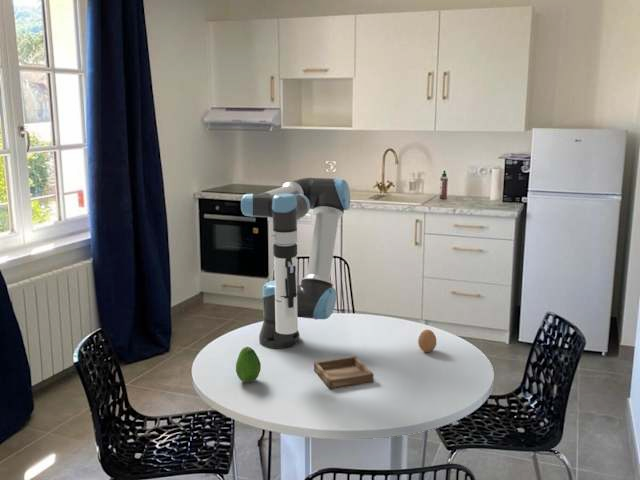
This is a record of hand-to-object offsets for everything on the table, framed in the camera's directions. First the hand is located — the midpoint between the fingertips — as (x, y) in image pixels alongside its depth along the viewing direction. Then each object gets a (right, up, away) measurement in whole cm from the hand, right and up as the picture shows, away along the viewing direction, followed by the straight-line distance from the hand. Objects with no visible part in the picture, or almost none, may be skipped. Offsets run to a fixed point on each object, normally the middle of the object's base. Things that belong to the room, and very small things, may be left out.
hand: (286, 312), depth 209 cm
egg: (+49, -17, +24) cm, 57 cm away
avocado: (-12, -23, +1) cm, 26 cm away
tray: (+18, -22, +4) cm, 29 cm away
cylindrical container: (0, -6, +1) cm, 6 cm away
